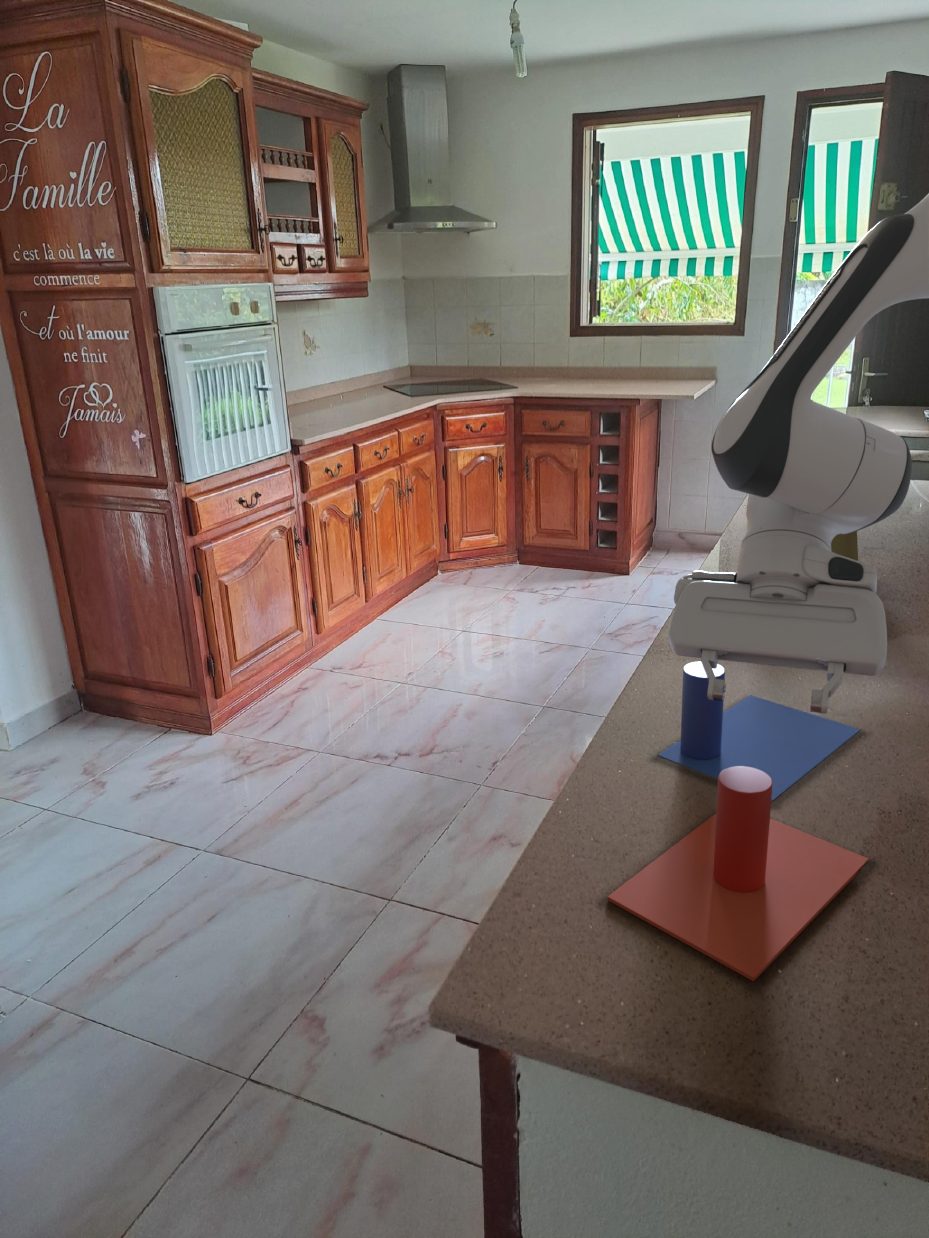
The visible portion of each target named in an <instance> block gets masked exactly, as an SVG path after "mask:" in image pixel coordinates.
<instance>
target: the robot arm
mask: <svg viewBox="0 0 929 1238" xmlns="http://www.w3.org/2000/svg"><path fill="white" fill-rule="evenodd" d="M921 299H929V193H927V194H926V195H925V197H923V198H922V199H921V200H920V201H919V202H918V203H917V204H916V205H914V206H913V207H912V208H910V209H909V210H908V211H907V212H905V213H901V214H896V215H889V216H886V217H885V218H883V219H881V220H880V221H878V223H876V224H875V225H874V226H873V227H872V228H871V229H870V230H869V231H867V233H866V234H865V235H863V237H862V238H861V239H860V240H859V241H858V243H856V244H855V246H854V247H853V248H852V250H851V251H850V252H849V254H848V255H846V257H845V258H844V259H843V261H842V262H841V263H840V265H839V266H838V268H837V269H836V270H835V271H834V273H833V274H832V275H831V276H830V278H829V279H828V280H827V282H826V283H825V284H824V286H823V287H822V288H821V289H820V291H819V292H818V294H817V295H816V296H815V298H814V299H813V301H812V302H811V303H810V304H809V306H808V307H807V309H806V310H805V311H804V313H803V314H802V316H801V317H800V318H799V320H798V321H797V322H796V324H795V325H794V327H793V328H792V329H791V331H790V332H789V333H788V335H787V336H786V337H785V339H784V340H783V341H782V343H781V344H780V345H779V347H778V348H777V350H776V351H775V352H774V354H773V355H772V356H771V357H770V359H769V360H768V362H767V363H766V364H765V366H764V367H763V368H762V370H761V371H760V372H759V373H758V374H757V375H756V376H755V377H754V379H752V380H751V382H750V383H749V384H748V385H747V386H746V387H745V388H744V389H743V390H742V391H741V393H740V394H739V395H738V396H737V397H736V398H735V399H734V400H733V401H732V403H731V404H730V406H729V407H728V408H727V409H726V411H725V412H724V413H723V416H722V417H721V419H720V421H719V422H718V424H717V427H716V429H715V430H714V434H713V437H712V441H711V446H710V447H711V449H710V450H711V453H712V457H713V461H714V464H715V466H716V469H717V471H718V474H719V475H720V477H721V478H722V480H723V482H724V483H725V484H726V486H727V487H728V488H729V489H730V490H732V491H733V490H734V491H737V492H741V493H745V494H748V497H747V503H746V510H745V514H746V521H748V528H747V527H746V532H745V534H744V536H743V537H742V539H741V544H740V548H739V549H740V550H739V557H738V562H737V570H736V572H725V571H724V572H723V571H720V572H718V571H717V572H710V571H709V572H708V571H704V570H694V571H692V573H689V574H686V575H684V576H682V577H681V578H679V579H678V580H677V582H676V585H675V588H674V593H673V602H674V604H675V608H674V611H673V614H672V617H671V620H670V624H669V628H668V629H669V630H668V635H667V636H668V643H669V645H670V647H671V649H672V650H673V652H674V653H675V654H676V655H677V656H678V657H684V658H685V657H686V658H696V659H697V658H698V659H700V661H701V663H702V667H703V669H704V672H705V674H706V676H707V678H708V681H709V685H708V692H707V696H708V700H716V701H723V702H724V701H725V693H726V689H727V683H726V680H723V679H716V676H715V674H714V672H713V670H712V669H716V668H717V664H719V663H718V662H719V661H725V662H736V663H743V664H752V665H753V664H754V665H763V666H773V667H783V668H791V669H792V668H793V669H801V670H811V671H821V672H827V673H826V676H827V677H826V680H827V682H826V683H825V684H824V686H823V687H822V688H821V689H811V696H810V697H811V700H810V709H809V710H810V713H818V714H823V715H824V714H825V715H827V713H828V707H829V705H828V704H829V698H831V697H832V696H833V695H834V693H835V692H836V691H837V690H838V689H839V688H840V686H841V685H842V684H843V681H844V674H851V675H859V676H869V677H870V676H871V677H874V676H876V675H878V674H879V673H880V672H881V671H883V670H884V668H885V666H886V663H887V653H888V630H887V618H886V612H885V607H884V604H883V601H882V600H881V598H880V597H879V596H878V594H877V590H878V573H877V570H876V567H874V566H873V565H871V564H869V563H866V562H863V561H861V560H858V561H857V560H854V559H851V558H848V557H845V556H842V555H839V554H836V553H833V552H831V542H832V539H833V538H834V537H835V536H836V535H838V534H842V535H846V534H850V533H853V532H856V531H857V532H858V531H861V530H863V529H866V528H869V527H871V526H873V525H875V524H877V523H879V522H882V521H883V520H885V519H887V518H888V517H890V516H891V515H893V514H894V513H896V512H897V511H898V510H899V509H900V508H901V506H902V505H903V503H904V501H905V499H906V497H907V494H908V492H909V488H910V484H911V480H912V479H911V478H912V470H913V461H912V454H911V450H910V447H909V445H908V443H907V441H906V439H905V438H904V437H903V436H901V435H898V434H896V433H895V432H893V431H891V430H889V429H886V428H884V427H881V426H880V425H876V424H874V423H872V422H869V421H867V420H864V419H862V418H858V417H856V416H851V415H849V414H846V413H845V412H842V411H840V410H836V409H834V408H831V407H830V406H826V405H824V404H821V403H820V402H816V401H814V400H813V399H812V395H813V393H814V391H815V390H816V389H817V387H819V385H820V384H821V382H823V380H824V379H825V378H826V376H827V375H828V373H829V372H830V371H831V370H832V368H833V367H834V365H835V364H836V362H838V361H839V359H840V358H841V356H842V355H843V354H844V353H845V351H846V350H847V349H848V347H849V346H850V345H851V343H853V341H854V340H855V338H856V337H857V336H858V335H859V333H860V332H861V330H862V329H863V328H864V327H865V326H866V324H867V323H868V322H870V320H871V319H872V318H874V316H876V315H877V314H878V313H880V312H882V311H883V310H885V309H888V308H889V307H891V306H893V305H896V304H899V303H903V302H907V301H912V300H913V301H914V300H921Z"/></svg>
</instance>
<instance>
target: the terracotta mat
mask: <svg viewBox="0 0 929 1238" xmlns="http://www.w3.org/2000/svg"><path fill="white" fill-rule="evenodd" d="M715 831H716V813H714V814H712V816H710V817H709V818H708V819H707V820H705V821H704V822H702V823H701V824H700V825H699V826H697V827H696V828H695V829H694V830H692V831H691V832H690V833H688V834H687V835H686V836H684V837H683V838H682V839H680V840H679V841H678V842H677V843H675V844H674V845H673V846H671V847H670V848H669V849H668V850H666V851H665V852H664V853H662V854H661V855H660V856H658V857H657V858H655V860H654V861H652V862H651V863H649V864H648V865H647V866H645V867H644V868H642V870H640V871H639V872H638V873H636V874H635V875H633V876H632V877H631V878H630V879H629V880H627V881H626V882H624V883H623V884H622V885H620V886H619V887H618V888H617V889H616V890H614V891H613V892H611V893H610V894H609V895H607V898H606V899H607V902H610V903H611V904H614V905H616V906H617V907H619V908H620V909H623V910H624V911H626V912H628V913H629V914H632V915H633V916H634V917H637V918H639V919H641V921H644V922H646V923H647V924H649V925H651V926H653V927H655V928H657V929H658V930H660V931H661V932H663V933H665V934H668V935H669V936H671V937H673V938H674V939H676V940H678V941H680V942H681V943H683V944H685V945H687V946H689V947H691V948H692V949H694V950H696V951H697V952H700V953H701V954H703V955H705V956H707V957H708V958H710V959H712V960H713V961H716V962H717V963H719V964H721V965H723V966H724V967H726V968H728V969H730V970H732V971H734V972H735V973H737V974H739V975H741V976H742V977H744V978H746V979H747V980H750V981H752V982H755V981H756V980H757V979H758V978H759V977H760V976H761V975H762V974H763V973H764V971H765V970H767V968H768V967H769V966H770V965H771V964H773V962H774V961H775V960H776V959H777V958H778V957H779V956H780V955H781V954H782V953H783V952H784V951H785V950H786V949H787V948H788V947H789V945H791V944H792V942H793V941H794V940H795V939H797V937H798V936H799V935H800V934H801V933H802V932H803V931H804V930H805V929H806V928H807V927H808V926H809V925H810V924H811V923H812V922H813V921H814V920H815V918H816V917H818V915H820V913H822V912H823V910H824V909H826V907H827V906H828V905H829V904H830V903H831V902H832V901H833V900H834V899H835V898H836V897H837V896H838V895H839V893H841V892H842V890H844V889H845V888H846V886H848V885H849V884H850V882H851V881H853V880H854V879H855V877H856V876H857V875H858V874H859V873H860V872H861V870H862V869H861V868H863V866H864V865H865V864H866V863H867V862H868V861H869V860H870V858H868V857H866V856H863V855H861V854H858V853H856V852H854V851H851V850H849V849H846V848H843V847H842V846H838V845H836V844H834V843H832V842H829V841H826V840H825V839H822V838H820V837H816V836H814V835H812V834H810V833H807V832H804V831H802V830H800V829H798V828H795V827H792V826H790V825H788V824H785V823H782V822H780V821H778V820H775V819H773V818H771V817H770V824H769V837H768V850H767V863H766V876H765V883H764V885H763V886H762V887H761V888H760V889H758V890H756V891H753V892H746V893H742V892H735V891H731V890H728V889H726V888H724V887H723V886H721V885H720V884H719V883H718V882H717V881H716V880H715V878H714V875H713V869H714V850H715Z"/></svg>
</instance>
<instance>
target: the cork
mask: <svg viewBox="0 0 929 1238" xmlns="http://www.w3.org/2000/svg"><path fill="white" fill-rule="evenodd" d="M858 545H859V544H858V531H856V532H853V533H850V534H846V535H842V534H838V535H836V536H835V537H834V538H833V539H832V542H831V552H833V553H836V554H839V555H842V556H845V557H848V558H851V559H854V560H857V561H859V548H858Z"/></svg>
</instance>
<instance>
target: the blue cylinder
mask: <svg viewBox="0 0 929 1238" xmlns="http://www.w3.org/2000/svg"><path fill="white" fill-rule="evenodd" d="M712 670H713V672H714V674H715V676H716V679H723V680H725V678H726V669H725V667H723V666H722V665H721V664H719V663H718V664H717V668H716V669H712ZM725 681H726V680H725ZM708 685H709V681H708V678H707V676H706V674H705V672H704V669H703V667H702V663H701V660H700V661H692V662H688V663H687V664H685V665H684V666H683V668H682V689H681V690H682V691H681V718H680V719H681V723H680V740H681V746H680V749H681V752H682V753H683V754H684V755H686V756H688V757H690V758H693V759H699V760H708V759H713V758H716V757H717V756H719V754H720V753H721V738H722V719H723V713H724V701H716V700H708V696H707V692H708Z"/></svg>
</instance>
